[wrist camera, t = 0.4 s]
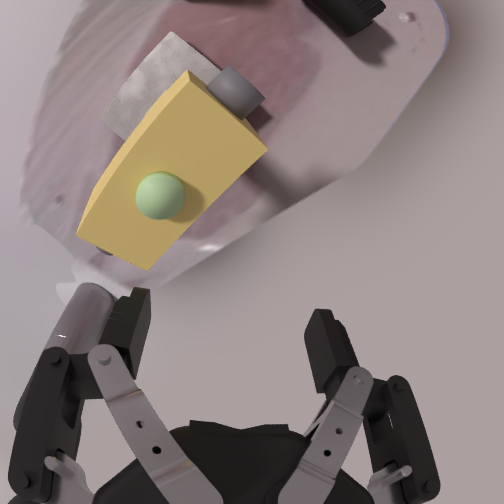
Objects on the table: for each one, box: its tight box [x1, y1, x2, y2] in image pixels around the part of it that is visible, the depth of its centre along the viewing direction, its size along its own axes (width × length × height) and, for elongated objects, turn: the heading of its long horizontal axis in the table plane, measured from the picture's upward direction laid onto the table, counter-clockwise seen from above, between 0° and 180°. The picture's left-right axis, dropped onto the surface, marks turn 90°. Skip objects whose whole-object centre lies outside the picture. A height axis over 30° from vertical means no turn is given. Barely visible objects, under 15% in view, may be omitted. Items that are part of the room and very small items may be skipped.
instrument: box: [76, 65, 268, 271], centre depth 22 cm, size 16×6×20 cm, turn 134°
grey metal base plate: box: [99, 31, 221, 142], centre depth 31 cm, size 15×15×6 cm
